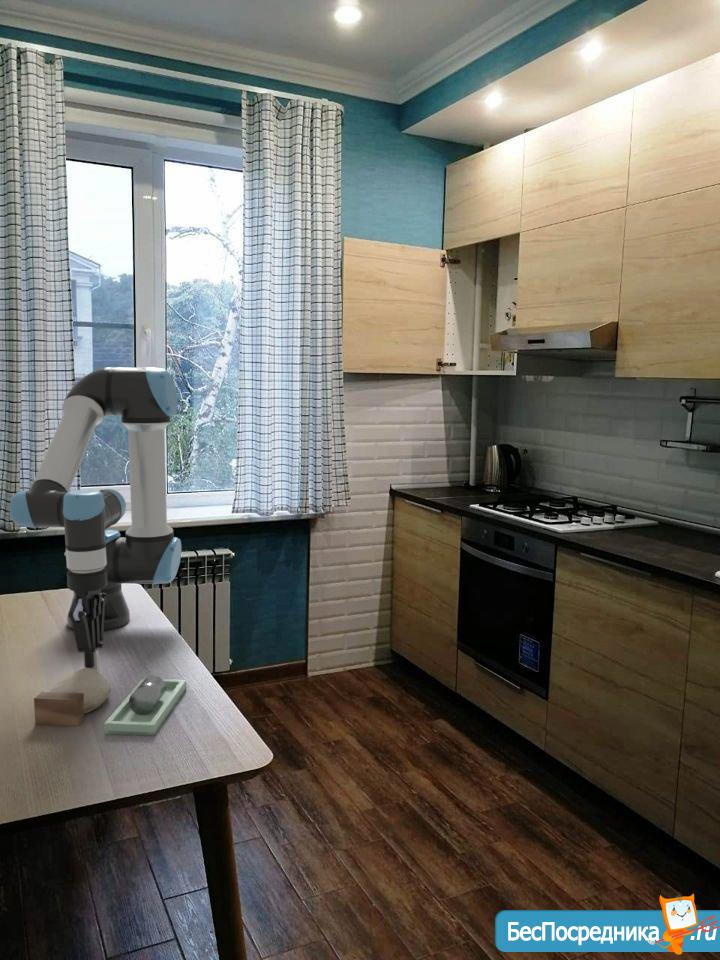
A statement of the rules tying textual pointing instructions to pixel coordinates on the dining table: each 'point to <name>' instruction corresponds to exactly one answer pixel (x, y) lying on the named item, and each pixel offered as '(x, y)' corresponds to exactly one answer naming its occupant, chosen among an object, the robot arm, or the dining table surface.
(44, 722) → the block
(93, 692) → the stone
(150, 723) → the tray
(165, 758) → the dining table surface
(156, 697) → the roller
